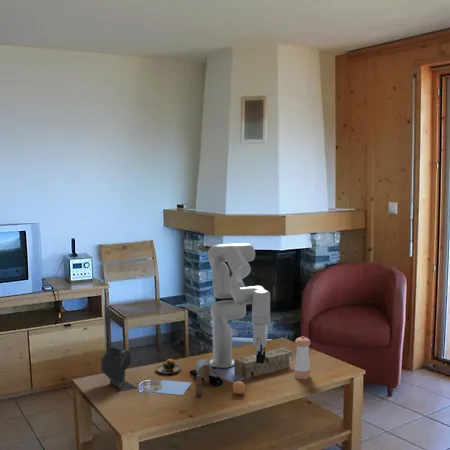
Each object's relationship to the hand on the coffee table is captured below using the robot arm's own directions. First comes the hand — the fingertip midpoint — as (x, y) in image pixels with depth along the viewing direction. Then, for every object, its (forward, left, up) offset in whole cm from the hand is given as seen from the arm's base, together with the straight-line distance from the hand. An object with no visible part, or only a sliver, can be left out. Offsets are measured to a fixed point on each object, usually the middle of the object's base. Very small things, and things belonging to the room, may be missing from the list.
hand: (260, 361), depth 238 cm
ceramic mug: (-16, -28, -15) cm, 36 cm away
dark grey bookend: (+2, -64, -15) cm, 66 cm away
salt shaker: (-26, +16, -15) cm, 34 cm away
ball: (0, -9, -12) cm, 16 cm away
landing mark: (0, -39, -15) cm, 42 cm away
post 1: (+6, -25, -15) cm, 30 cm away
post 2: (-6, -25, -15) cm, 30 cm away
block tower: (-30, -3, -16) cm, 34 cm away
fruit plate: (-19, -47, -16) cm, 54 cm away
